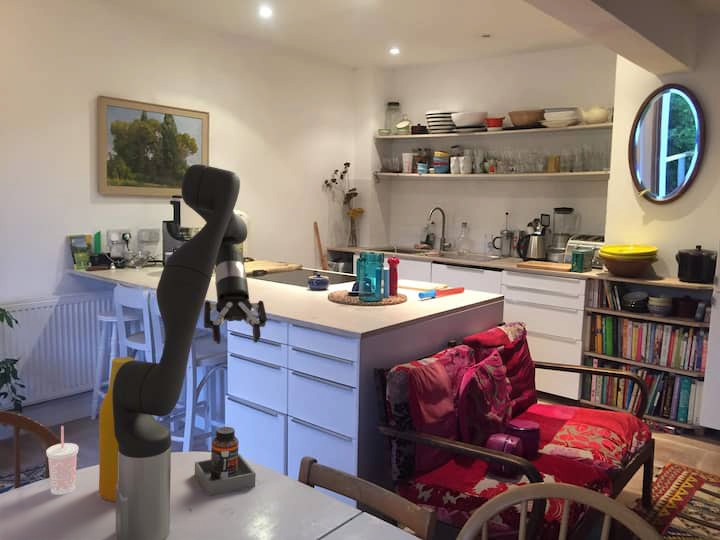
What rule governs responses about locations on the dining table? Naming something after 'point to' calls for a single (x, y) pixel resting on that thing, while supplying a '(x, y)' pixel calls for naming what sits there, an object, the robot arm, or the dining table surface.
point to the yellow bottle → (109, 439)
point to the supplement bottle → (224, 454)
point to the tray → (213, 487)
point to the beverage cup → (62, 466)
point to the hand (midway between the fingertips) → (237, 341)
